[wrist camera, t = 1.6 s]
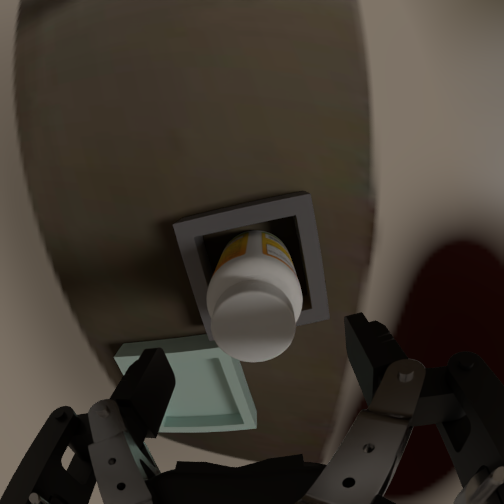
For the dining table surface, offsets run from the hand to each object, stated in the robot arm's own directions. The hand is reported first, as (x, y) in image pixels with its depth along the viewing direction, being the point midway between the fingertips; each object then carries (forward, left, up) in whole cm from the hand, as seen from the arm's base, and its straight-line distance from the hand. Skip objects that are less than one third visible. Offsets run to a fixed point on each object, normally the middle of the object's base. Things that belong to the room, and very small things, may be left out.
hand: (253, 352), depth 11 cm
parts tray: (+11, -9, -11) cm, 18 cm away
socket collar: (0, 0, -11) cm, 11 cm away
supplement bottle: (0, 0, -11) cm, 11 cm away
